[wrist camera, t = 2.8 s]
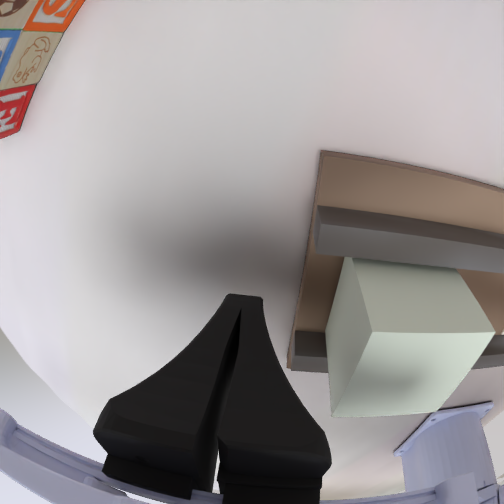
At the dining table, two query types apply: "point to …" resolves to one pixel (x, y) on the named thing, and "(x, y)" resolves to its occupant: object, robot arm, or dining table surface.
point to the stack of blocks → (27, 51)
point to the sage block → (400, 337)
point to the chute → (397, 241)
